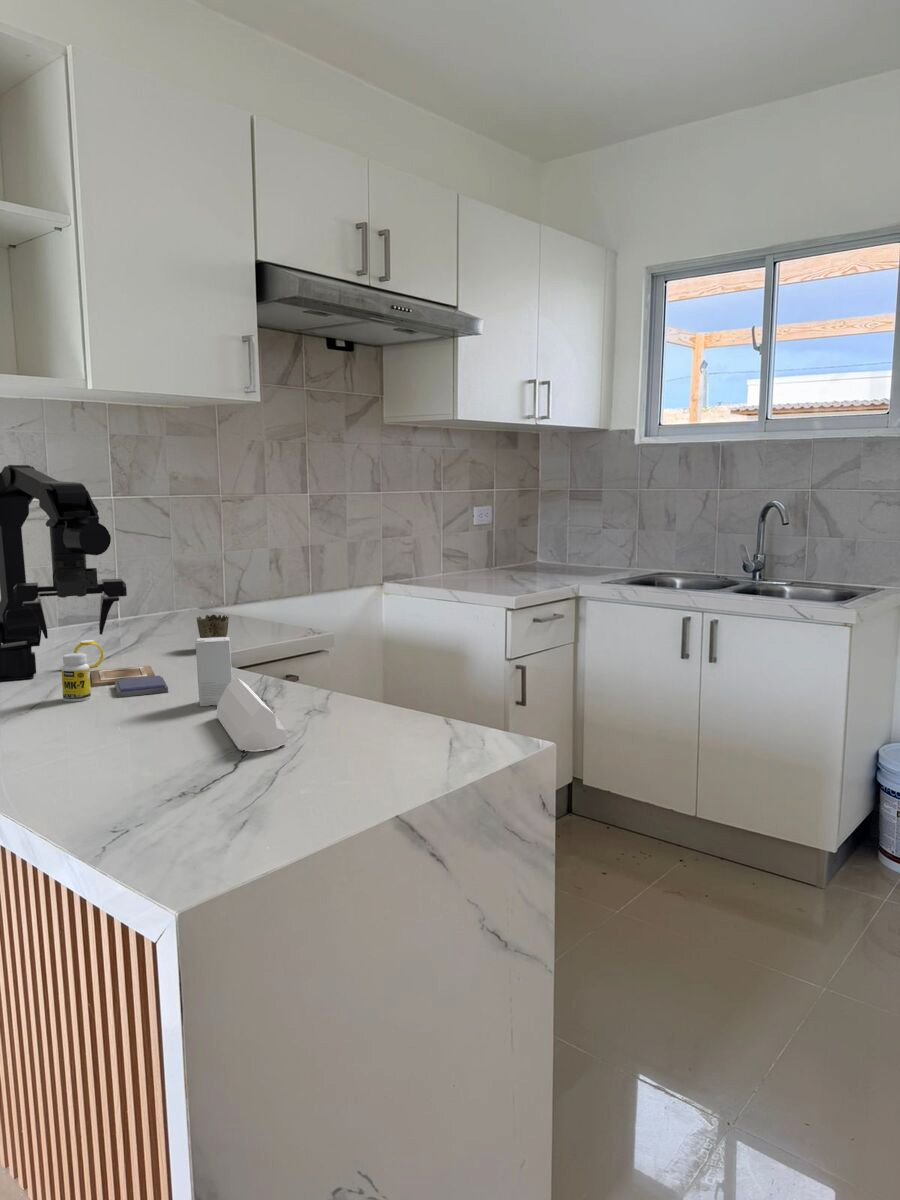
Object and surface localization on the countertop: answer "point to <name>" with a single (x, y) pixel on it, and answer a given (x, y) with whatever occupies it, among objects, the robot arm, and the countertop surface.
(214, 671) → the skincare box
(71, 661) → the supplement bottle
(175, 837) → the countertop surface
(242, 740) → the crystal
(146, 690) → the ink pad
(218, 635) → the cup
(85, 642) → the watch
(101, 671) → the marked board
